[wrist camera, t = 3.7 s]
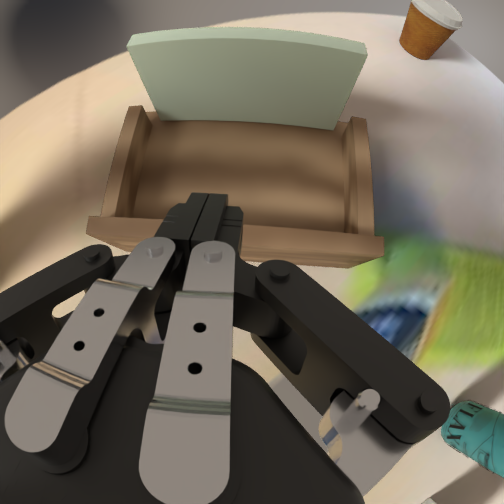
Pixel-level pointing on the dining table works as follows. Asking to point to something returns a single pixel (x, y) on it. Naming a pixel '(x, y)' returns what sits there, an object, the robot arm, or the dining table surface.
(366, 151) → the drawer box
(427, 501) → the tea box
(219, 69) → the panel
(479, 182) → the dining table surface
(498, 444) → the beverage bottle
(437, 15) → the disposable coffee cup
